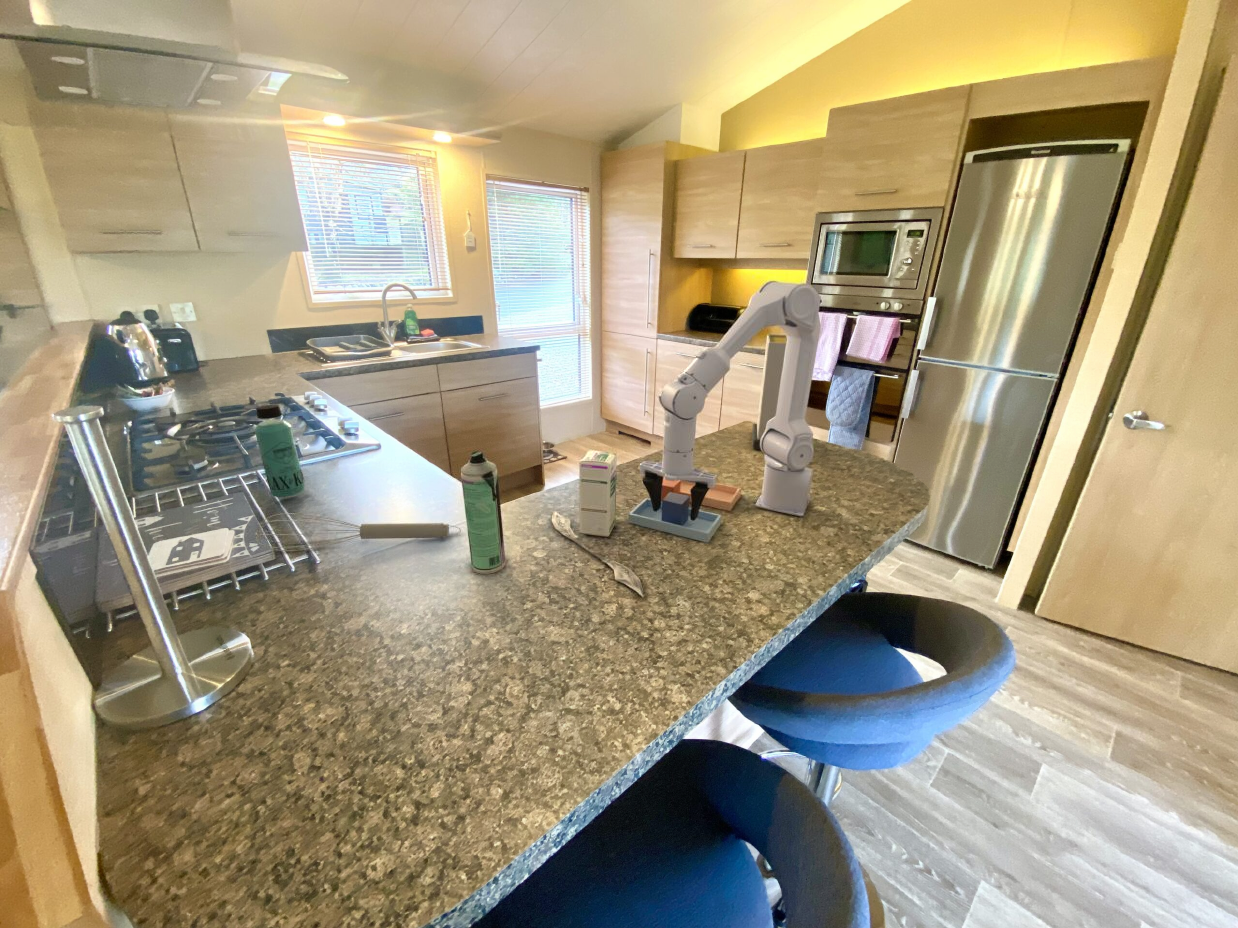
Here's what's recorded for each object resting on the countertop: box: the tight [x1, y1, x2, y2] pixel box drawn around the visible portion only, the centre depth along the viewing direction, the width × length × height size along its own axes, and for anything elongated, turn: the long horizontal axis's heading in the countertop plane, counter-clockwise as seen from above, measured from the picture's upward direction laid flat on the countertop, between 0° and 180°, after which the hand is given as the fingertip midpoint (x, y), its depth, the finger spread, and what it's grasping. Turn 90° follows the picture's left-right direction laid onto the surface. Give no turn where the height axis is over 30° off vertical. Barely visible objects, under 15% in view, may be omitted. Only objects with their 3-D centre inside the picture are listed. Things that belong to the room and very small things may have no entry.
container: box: [752, 334, 787, 451], centre depth 138 cm, size 7×18×30 cm, turn 167°
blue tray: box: [628, 497, 723, 544], centre depth 99 cm, size 16×8×2 cm, turn 62°
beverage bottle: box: [253, 403, 306, 498], centre depth 105 cm, size 6×7×20 cm
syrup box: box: [578, 450, 618, 538], centre depth 95 cm, size 6×6×14 cm
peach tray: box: [680, 481, 742, 512], centre depth 111 cm, size 16×8×2 cm, turn 62°
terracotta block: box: [661, 477, 681, 501], centre depth 106 cm, size 4×4×5 cm
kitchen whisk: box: [253, 512, 462, 552], centre depth 91 cm, size 6×34×6 cm, turn 99°
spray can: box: [460, 450, 506, 575], centre depth 82 cm, size 6×6×20 cm
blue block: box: [661, 492, 690, 526], centre depth 99 cm, size 4×4×5 cm
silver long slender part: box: [551, 510, 644, 598], centre depth 90 cm, size 32×1×5 cm
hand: (675, 513), depth 99 cm, fingers open, 7 cm apart
